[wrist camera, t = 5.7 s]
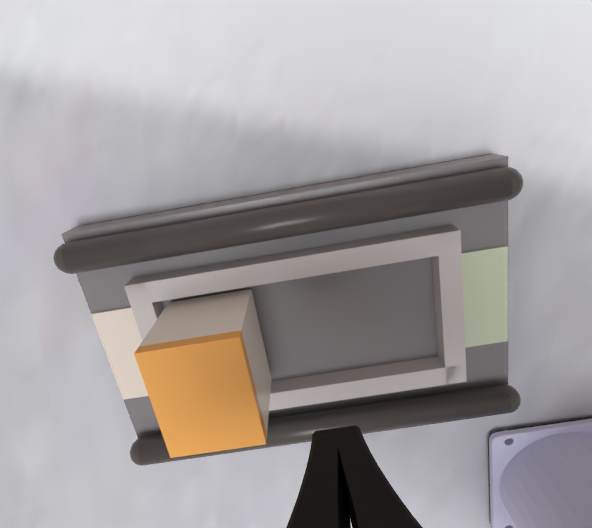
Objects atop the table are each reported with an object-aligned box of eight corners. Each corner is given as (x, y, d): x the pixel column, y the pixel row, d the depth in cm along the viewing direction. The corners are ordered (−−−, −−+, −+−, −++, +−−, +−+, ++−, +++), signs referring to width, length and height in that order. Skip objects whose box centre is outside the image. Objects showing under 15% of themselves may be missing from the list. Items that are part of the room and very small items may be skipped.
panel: (496, 153, 19) (530, 158, 16) (498, 386, 23) (525, 421, 21) (73, 226, 20) (39, 243, 17) (150, 437, 24) (132, 477, 22)
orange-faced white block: (251, 288, 19) (239, 336, 15) (271, 378, 21) (266, 444, 17) (168, 302, 19) (133, 353, 15) (195, 389, 21) (170, 458, 17)
